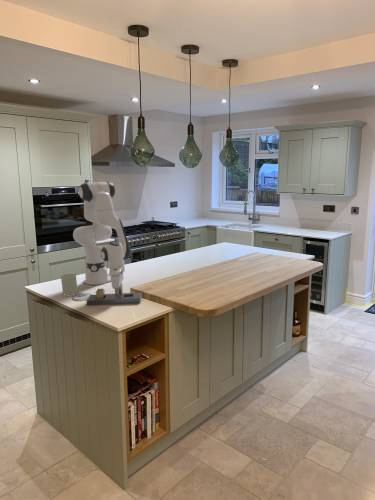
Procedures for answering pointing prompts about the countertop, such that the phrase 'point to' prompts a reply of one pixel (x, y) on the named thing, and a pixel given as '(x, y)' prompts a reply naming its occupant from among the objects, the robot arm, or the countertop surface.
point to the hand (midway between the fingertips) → (119, 291)
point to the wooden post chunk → (120, 289)
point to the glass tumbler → (69, 284)
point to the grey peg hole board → (115, 299)
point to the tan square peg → (100, 293)
